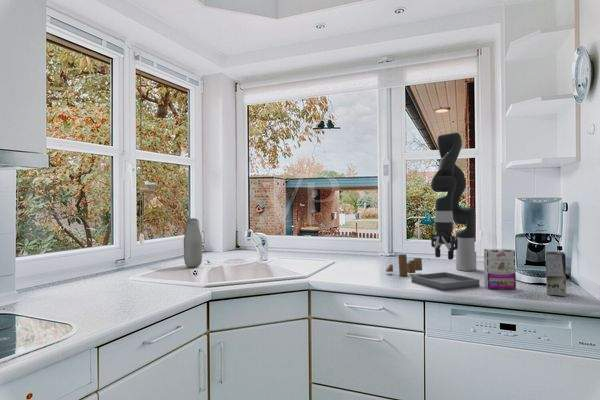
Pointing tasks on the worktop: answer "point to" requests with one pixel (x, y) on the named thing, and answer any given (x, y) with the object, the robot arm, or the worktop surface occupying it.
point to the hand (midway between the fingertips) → (444, 258)
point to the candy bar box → (499, 269)
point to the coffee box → (556, 273)
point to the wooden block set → (406, 265)
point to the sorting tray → (445, 281)
